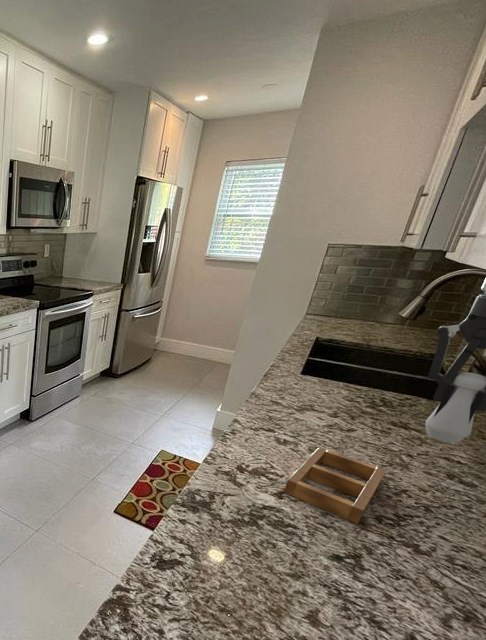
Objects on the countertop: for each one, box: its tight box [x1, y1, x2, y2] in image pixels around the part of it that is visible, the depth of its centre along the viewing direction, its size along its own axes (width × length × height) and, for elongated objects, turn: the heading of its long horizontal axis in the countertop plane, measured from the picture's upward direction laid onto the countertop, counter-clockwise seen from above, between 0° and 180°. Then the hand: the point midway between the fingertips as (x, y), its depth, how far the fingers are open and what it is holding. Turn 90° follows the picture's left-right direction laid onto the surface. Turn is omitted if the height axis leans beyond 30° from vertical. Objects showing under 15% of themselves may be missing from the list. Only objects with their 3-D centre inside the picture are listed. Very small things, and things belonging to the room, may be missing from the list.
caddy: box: [283, 446, 387, 525], centre depth 84 cm, size 12×22×3 cm, turn 129°
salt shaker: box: [425, 371, 486, 445], centre depth 76 cm, size 6×6×13 cm
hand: (450, 420), depth 77 cm, fingers closed on salt shaker, 3 cm apart
